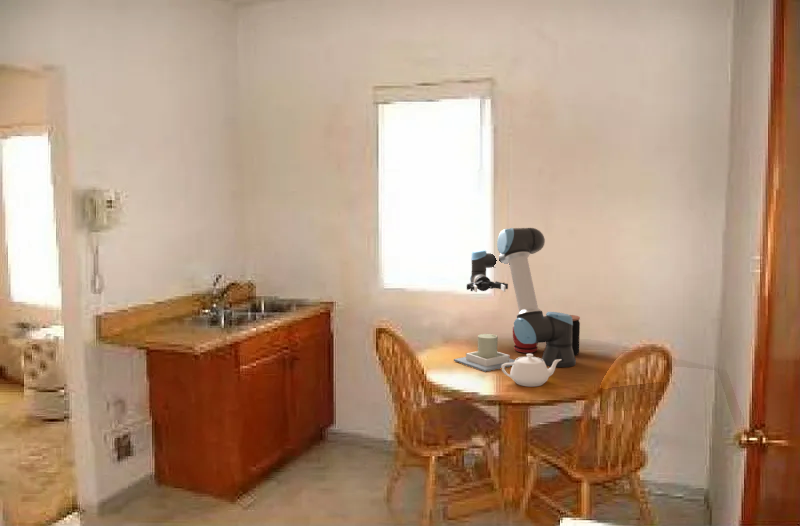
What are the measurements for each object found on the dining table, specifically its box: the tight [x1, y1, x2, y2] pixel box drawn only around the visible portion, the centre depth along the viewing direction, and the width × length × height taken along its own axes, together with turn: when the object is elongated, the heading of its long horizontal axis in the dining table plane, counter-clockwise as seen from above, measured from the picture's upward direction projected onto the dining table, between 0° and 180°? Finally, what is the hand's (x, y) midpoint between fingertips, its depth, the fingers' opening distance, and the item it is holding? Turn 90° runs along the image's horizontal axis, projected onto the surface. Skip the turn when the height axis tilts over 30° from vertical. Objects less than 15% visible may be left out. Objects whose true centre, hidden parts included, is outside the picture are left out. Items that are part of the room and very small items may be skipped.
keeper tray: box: [453, 350, 516, 373], centre depth 301 cm, size 22×22×4 cm
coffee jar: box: [569, 314, 581, 356], centre depth 316 cm, size 11×11×18 cm
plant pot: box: [512, 326, 539, 354], centre depth 322 cm, size 13×13×12 cm
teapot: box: [501, 353, 562, 387], centre depth 269 cm, size 25×16×12 cm, turn 93°
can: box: [477, 333, 499, 359], centre depth 301 cm, size 9×9×12 cm
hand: (490, 289), depth 312 cm, fingers open, 13 cm apart
